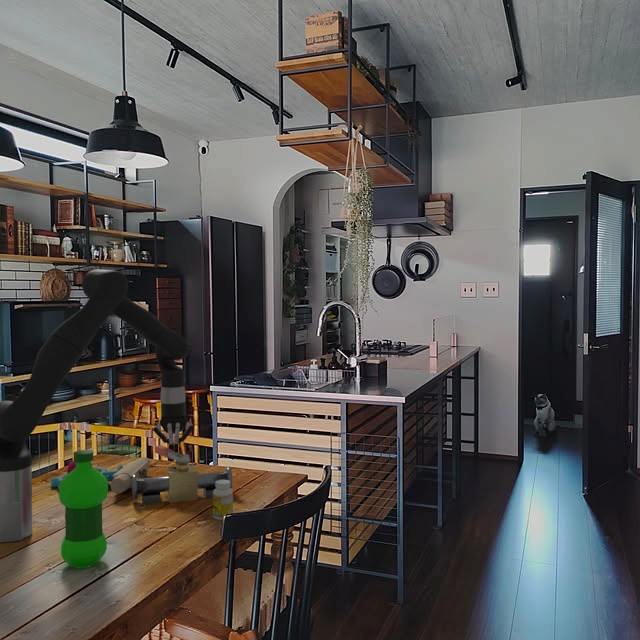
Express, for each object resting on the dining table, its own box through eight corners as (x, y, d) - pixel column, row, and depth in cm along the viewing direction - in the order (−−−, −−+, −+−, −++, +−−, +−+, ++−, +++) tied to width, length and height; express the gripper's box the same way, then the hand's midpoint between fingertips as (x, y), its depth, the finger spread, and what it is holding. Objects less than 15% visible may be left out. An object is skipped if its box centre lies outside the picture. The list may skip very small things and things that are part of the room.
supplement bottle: (235, 518, 164) (235, 483, 164) (215, 521, 162) (215, 485, 162) (229, 512, 169) (229, 477, 169) (210, 514, 167) (210, 480, 167)
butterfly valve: (32, 509, 179) (134, 498, 178) (30, 485, 178) (131, 475, 178) (71, 481, 205) (160, 472, 205) (69, 461, 205) (157, 452, 204)
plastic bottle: (67, 554, 141) (66, 446, 140) (114, 553, 141) (113, 446, 141) (51, 574, 131) (50, 458, 130) (102, 572, 131) (101, 457, 131)
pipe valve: (228, 489, 189) (228, 457, 188) (232, 496, 182) (232, 463, 182) (132, 498, 180) (132, 464, 179) (132, 506, 173) (132, 471, 173)
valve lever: (191, 462, 180) (191, 456, 180) (179, 465, 178) (179, 458, 178) (163, 450, 194) (163, 444, 194) (151, 452, 191) (151, 446, 191)
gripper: (150, 403, 186) (151, 460, 187) (195, 401, 189) (196, 457, 190) (151, 399, 193) (152, 453, 194) (194, 397, 196) (195, 451, 197)
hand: (174, 455), depth 192 cm, fingers closed
